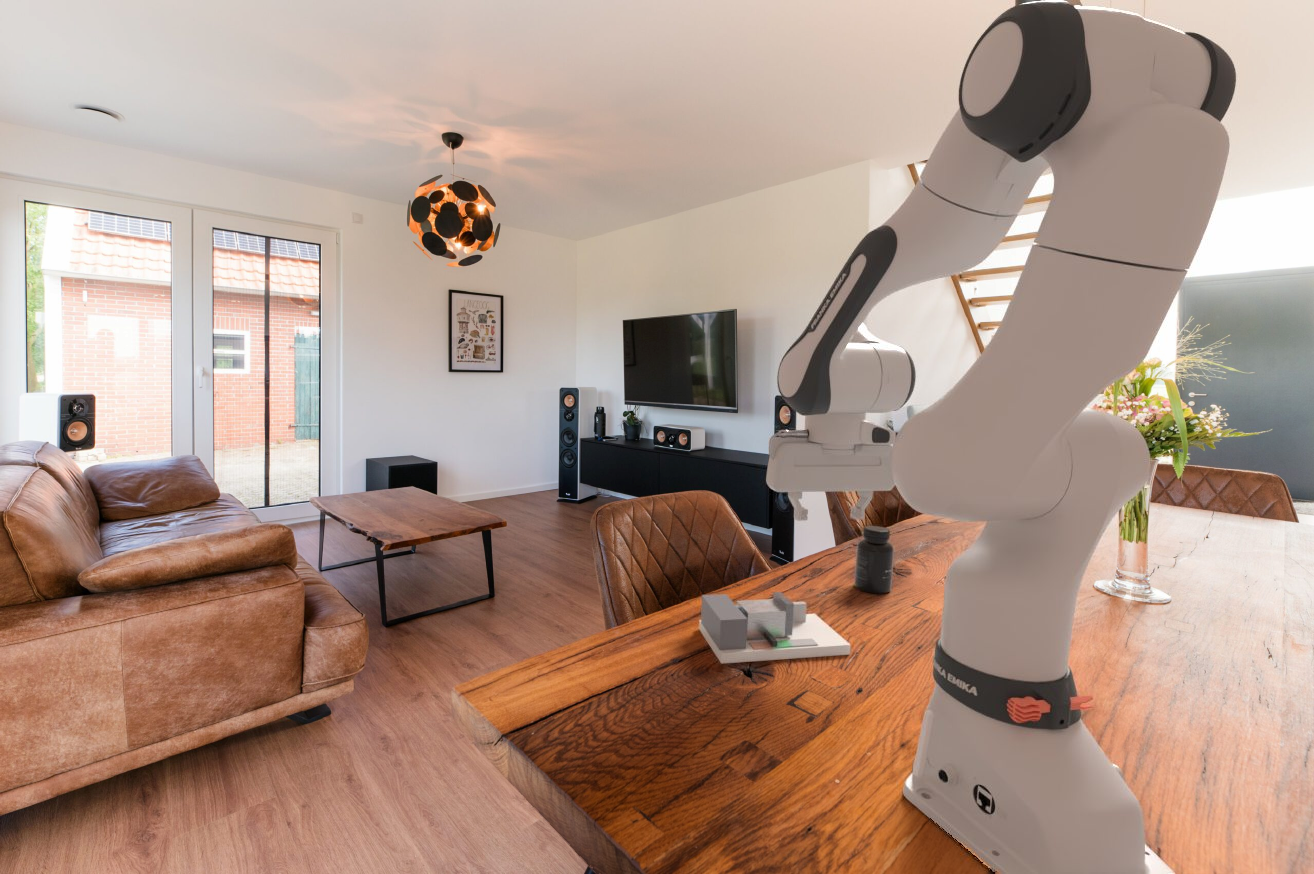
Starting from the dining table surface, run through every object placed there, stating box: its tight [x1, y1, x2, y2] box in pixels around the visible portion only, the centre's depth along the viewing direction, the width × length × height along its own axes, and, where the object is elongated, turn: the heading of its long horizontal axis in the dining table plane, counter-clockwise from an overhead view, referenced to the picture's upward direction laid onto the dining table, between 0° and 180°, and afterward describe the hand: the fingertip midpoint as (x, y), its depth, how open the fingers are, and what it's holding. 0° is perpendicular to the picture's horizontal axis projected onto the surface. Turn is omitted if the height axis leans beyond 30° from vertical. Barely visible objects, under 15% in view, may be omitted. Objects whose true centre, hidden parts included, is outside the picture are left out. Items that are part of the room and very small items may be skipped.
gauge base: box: [698, 593, 852, 664], centre depth 96 cm, size 12×20×6 cm, turn 102°
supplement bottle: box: [854, 525, 895, 595], centre depth 121 cm, size 7×7×12 cm
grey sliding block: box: [736, 591, 794, 647], centre depth 94 cm, size 8×7×5 cm
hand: (829, 519), depth 96 cm, fingers open, 8 cm apart
